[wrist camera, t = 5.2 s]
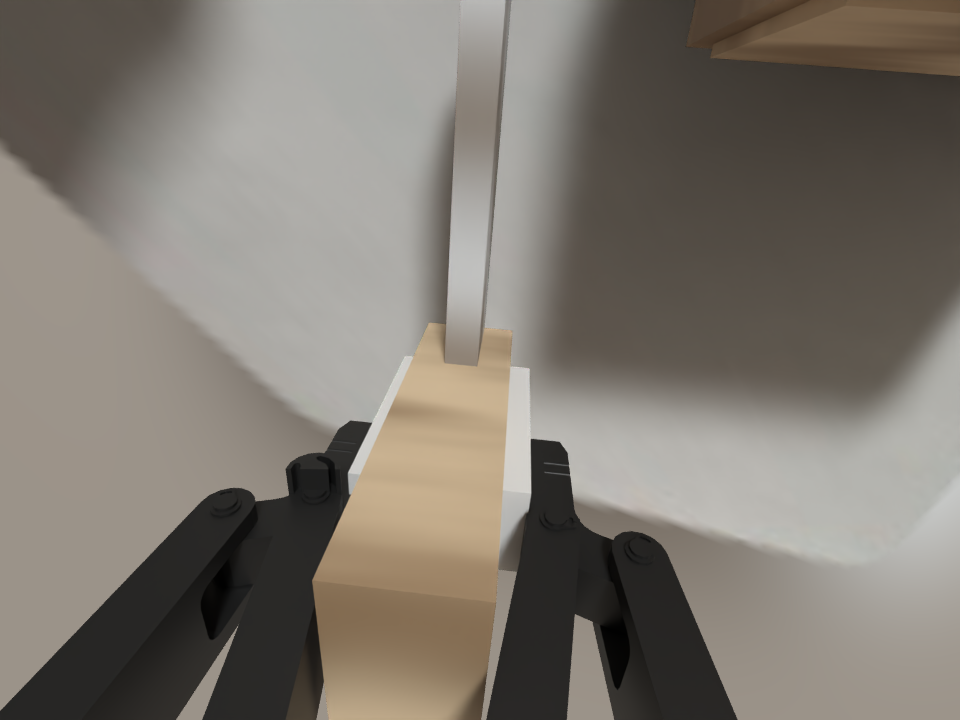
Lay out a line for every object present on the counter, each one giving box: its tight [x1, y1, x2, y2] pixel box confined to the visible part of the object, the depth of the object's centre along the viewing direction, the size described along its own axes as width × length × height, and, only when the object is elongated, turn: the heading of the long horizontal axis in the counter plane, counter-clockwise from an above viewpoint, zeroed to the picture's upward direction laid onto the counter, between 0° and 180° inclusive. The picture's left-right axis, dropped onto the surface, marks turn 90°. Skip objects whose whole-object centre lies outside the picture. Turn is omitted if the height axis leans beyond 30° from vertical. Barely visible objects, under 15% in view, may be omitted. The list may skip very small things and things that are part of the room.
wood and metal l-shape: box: [312, 0, 512, 720], centre depth 11 cm, size 18×3×11 cm, turn 176°
